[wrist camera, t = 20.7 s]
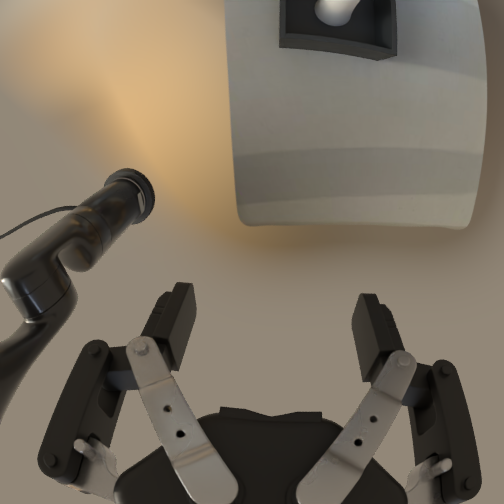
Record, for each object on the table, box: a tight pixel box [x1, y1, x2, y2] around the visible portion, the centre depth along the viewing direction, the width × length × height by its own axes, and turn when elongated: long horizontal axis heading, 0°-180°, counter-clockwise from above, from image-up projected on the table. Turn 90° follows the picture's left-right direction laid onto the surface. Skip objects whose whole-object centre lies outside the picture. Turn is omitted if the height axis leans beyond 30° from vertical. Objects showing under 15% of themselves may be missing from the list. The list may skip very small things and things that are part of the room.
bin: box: [279, 0, 397, 61], centre depth 27 cm, size 17×17×9 cm
